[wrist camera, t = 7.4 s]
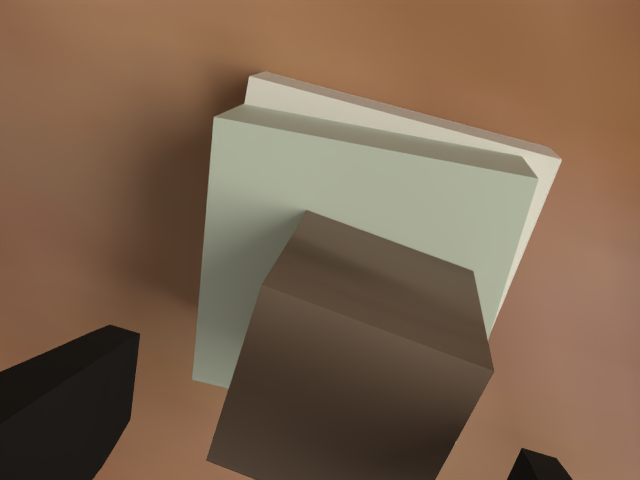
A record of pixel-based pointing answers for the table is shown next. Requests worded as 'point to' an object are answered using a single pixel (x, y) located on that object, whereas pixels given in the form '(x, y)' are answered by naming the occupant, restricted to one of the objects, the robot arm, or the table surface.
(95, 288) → the table surface
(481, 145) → the tower base slab
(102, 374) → the robot arm
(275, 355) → the walnut block
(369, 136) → the tower top slab
